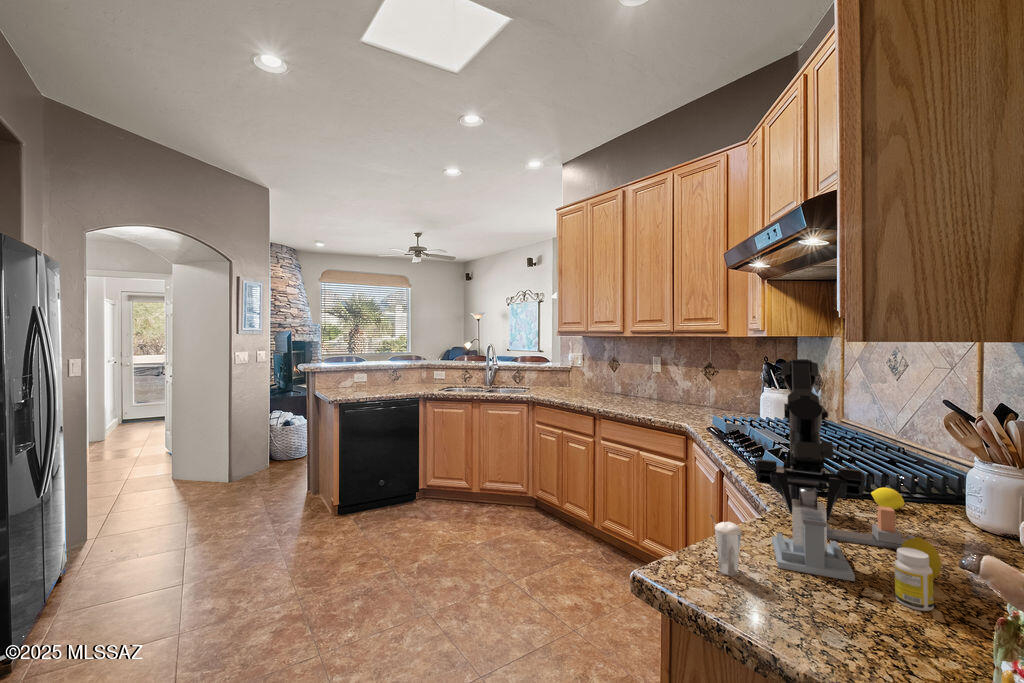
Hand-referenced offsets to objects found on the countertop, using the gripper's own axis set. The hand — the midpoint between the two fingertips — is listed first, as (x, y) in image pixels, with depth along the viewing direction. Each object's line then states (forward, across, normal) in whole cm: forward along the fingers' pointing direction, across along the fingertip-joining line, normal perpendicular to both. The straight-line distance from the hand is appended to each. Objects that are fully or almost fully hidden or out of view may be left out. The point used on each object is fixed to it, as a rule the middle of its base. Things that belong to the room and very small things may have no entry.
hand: (809, 514), depth 89 cm
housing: (+5, 0, +6) cm, 8 cm away
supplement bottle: (+13, +14, +1) cm, 19 cm away
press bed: (+6, 0, +7) cm, 9 cm away
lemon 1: (-25, +19, +39) cm, 50 cm away
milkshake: (+15, -14, -2) cm, 21 cm away
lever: (-7, +15, +18) cm, 24 cm away
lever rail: (-6, +12, +19) cm, 23 cm away
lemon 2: (+6, +17, +7) cm, 19 cm away
